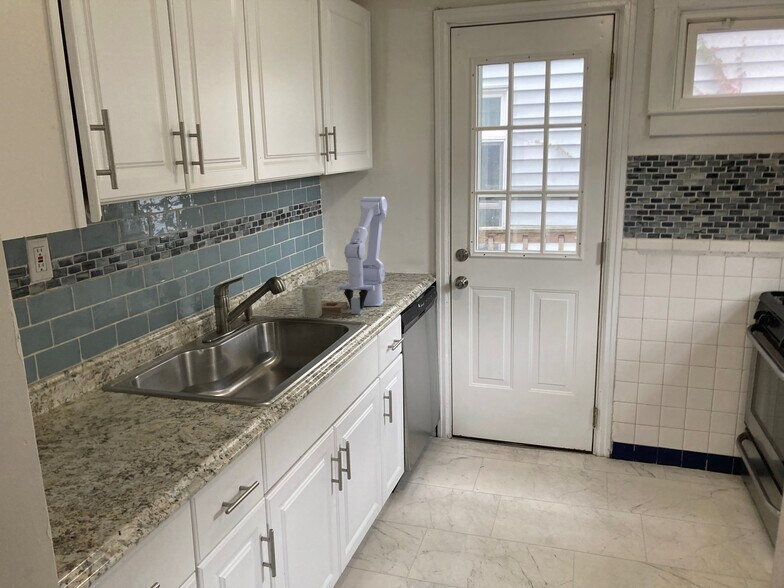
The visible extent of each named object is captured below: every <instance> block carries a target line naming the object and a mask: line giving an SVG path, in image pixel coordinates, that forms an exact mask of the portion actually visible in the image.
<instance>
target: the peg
mask: <svg viewBox="0 0 784 588" xmlns="http://www.w3.org/2000/svg"><path fill="white" fill-rule="evenodd" d="M350 310H351V311H350V312H351V313H350V314H352V315H353V314H354V315H361V314H362V313H363V309H360V296H353V297H352V298H351V309H350Z"/></svg>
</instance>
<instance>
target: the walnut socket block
mask: <svg viewBox="0 0 784 588" xmlns="http://www.w3.org/2000/svg"><path fill="white" fill-rule="evenodd" d="M348 304H349V302H348V301H334V300H333V301H328V300H327V301H326V300H321V306H322V315H341V314H343V312H344V310H345V311H346V310H347V309H349V305H348Z"/></svg>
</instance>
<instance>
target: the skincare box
mask: <svg viewBox="0 0 784 588" xmlns="http://www.w3.org/2000/svg"><path fill="white" fill-rule="evenodd" d="M300 288H301V299H302V309H303V311H302V312H303V318H307V317H308V318H309V319H310V318H312V319H316V318H317V319H319V318H320V317H321V316H323V314H322V306H321V301H322V296H321V295H322V293H321V284H305V285H303V286H301V287H300ZM308 318H307V319H308Z"/></svg>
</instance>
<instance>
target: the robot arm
mask: <svg viewBox="0 0 784 588" xmlns="http://www.w3.org/2000/svg"><path fill="white" fill-rule="evenodd" d="M359 209H360V212H361V213H360V218H359V222H358V225H357V227H355V228H354V230H353V232H352V235H351V239H350V241H349V243H347V244H346V245H345V247H344V256H345V262H346V263H347V276H348V277H347V279H348V280H347V282H348V284H347V283H346V284H338V285H337V291H343V294H344V296H345V298H346V299H347V302H348V304H349V305H348V306H349V309H350V310H351V298H352V297H354V291H359V292H358V295H359V296H358V297H360V309H362V310H363V309H364V307H365V306H366V307H380V306H381V305H382V304H384V303H385V302H386V300H385V299H383V298H384V297H383V296H384V295H383V286H382V283H383V282H384V281H385V278H386V271H385V268H386V267H385V264H384V263H383V262H382V261H381V260H380V251H381V250H380V248H381V241H382V240H381V239H382V230H383V220H385V219H386V218H387V214H388V213H387V211H388V201H387V199H386V197H385V196H362V197H361V199H360V201H359ZM368 228H369V232H368ZM367 238H368V243H367V252H366V242H367ZM365 255H366V259H364V260H363V258H364V256H365Z"/></svg>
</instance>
